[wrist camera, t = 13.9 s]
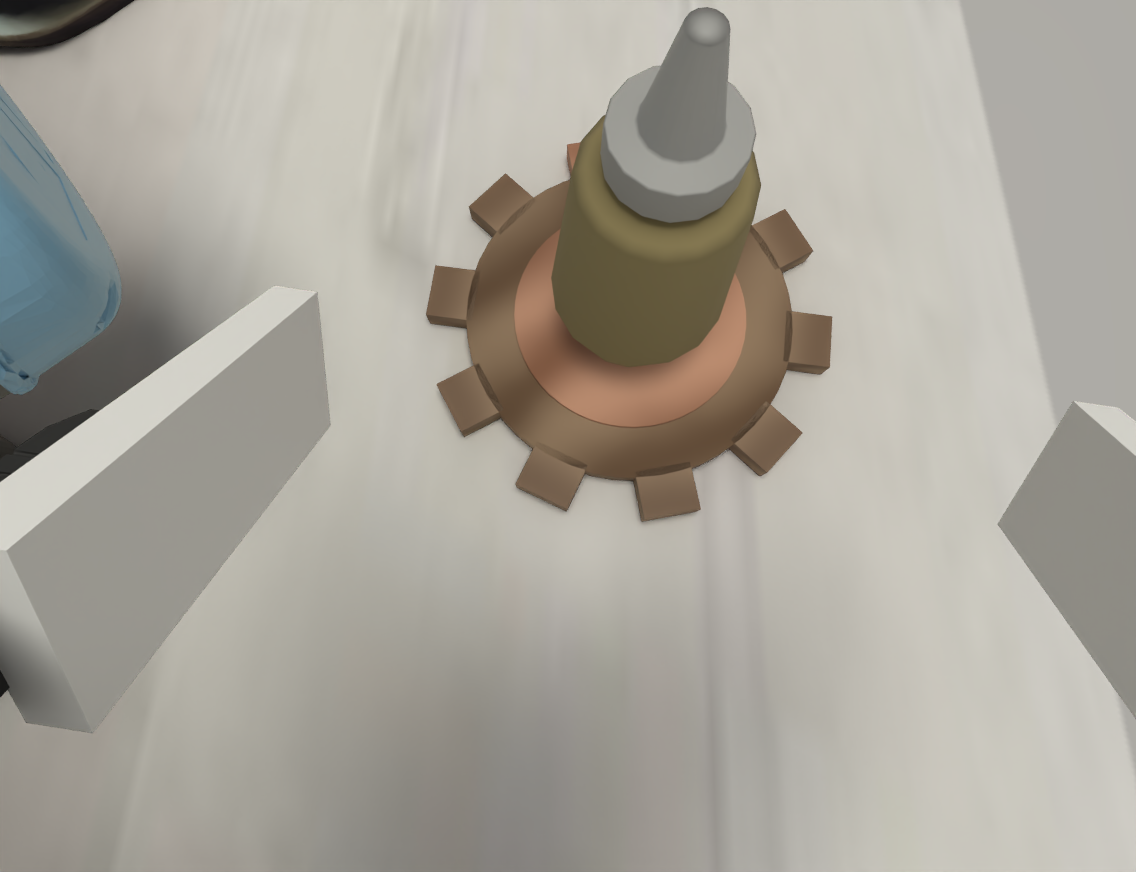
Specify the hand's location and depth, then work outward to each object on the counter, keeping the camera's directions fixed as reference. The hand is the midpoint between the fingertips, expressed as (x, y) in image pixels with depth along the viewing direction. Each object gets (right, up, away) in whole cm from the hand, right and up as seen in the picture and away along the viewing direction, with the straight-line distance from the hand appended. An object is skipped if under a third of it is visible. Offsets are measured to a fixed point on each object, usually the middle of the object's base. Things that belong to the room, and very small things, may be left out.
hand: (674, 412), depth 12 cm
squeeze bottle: (+1, +6, +22) cm, 23 cm away
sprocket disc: (+1, +6, +23) cm, 24 cm away
